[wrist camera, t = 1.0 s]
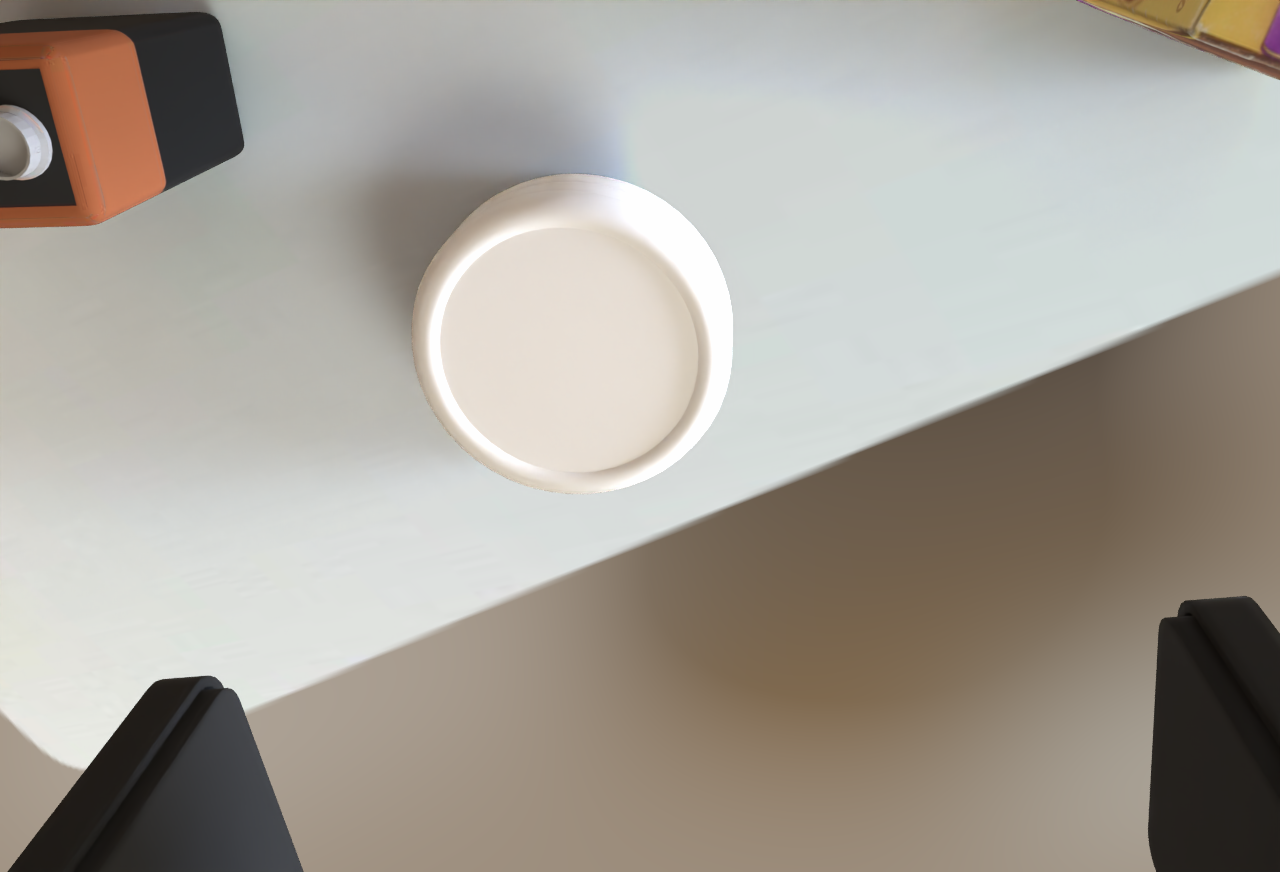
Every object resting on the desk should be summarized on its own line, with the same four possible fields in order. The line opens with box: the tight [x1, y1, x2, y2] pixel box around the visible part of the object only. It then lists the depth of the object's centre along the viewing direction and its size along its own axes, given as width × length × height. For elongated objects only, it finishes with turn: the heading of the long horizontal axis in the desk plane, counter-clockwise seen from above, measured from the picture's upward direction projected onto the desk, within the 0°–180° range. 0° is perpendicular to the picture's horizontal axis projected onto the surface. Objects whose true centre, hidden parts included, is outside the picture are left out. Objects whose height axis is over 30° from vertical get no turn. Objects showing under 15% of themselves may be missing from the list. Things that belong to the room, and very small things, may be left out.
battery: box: [0, 12, 244, 228], centre depth 30 cm, size 4×7×10 cm, turn 93°
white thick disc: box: [411, 174, 733, 494], centre depth 35 cm, size 10×10×4 cm
